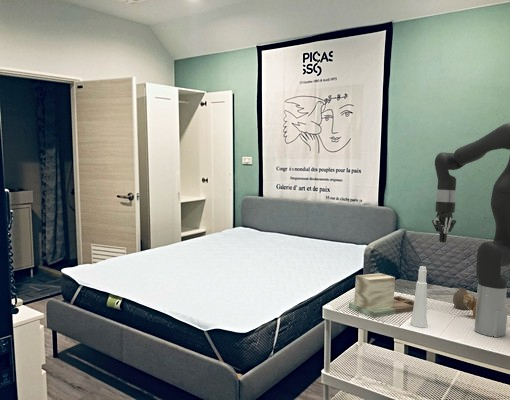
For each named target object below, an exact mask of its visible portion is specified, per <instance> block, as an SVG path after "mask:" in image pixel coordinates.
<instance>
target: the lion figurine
mask: <svg viewBox="0 0 510 400" xmlns="http://www.w3.org/2000/svg"><path fill="white" fill-rule="evenodd" d="M463 302H464V304H465V305H466V306H467V307H468V308H467V309H469V310H470V311H472V316H471V319H474V320H475V315H476V302H477V297H475V296H473V295H471V294H469V295H466V296H464V301H463Z"/></svg>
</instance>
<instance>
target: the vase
mask: <svg viewBox="0 0 510 400" xmlns="http://www.w3.org/2000/svg"><path fill="white" fill-rule="evenodd" d="M466 295H470V294H469V292H468V291H467V289H466V288H465V287H459V288H458V290H456V291H455V292H454V294H453V296H452V303H453V305H454V307H455V308H456V309H458V310H467V309H469V308H468V307H467V306H466V305H465V304H464V302H463V301H464V296H466Z"/></svg>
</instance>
